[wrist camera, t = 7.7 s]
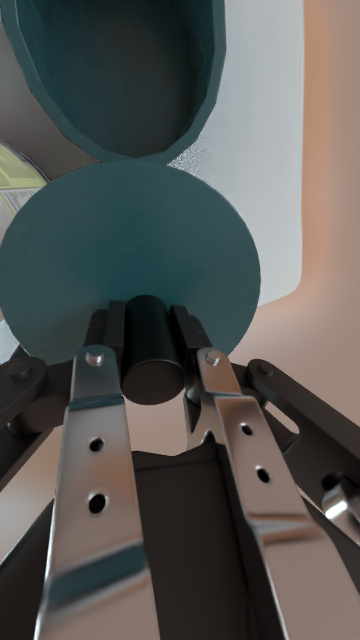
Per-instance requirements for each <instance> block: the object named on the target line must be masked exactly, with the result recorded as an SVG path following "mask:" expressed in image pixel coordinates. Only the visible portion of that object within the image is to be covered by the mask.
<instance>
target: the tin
mask: <svg viewBox="0 0 360 640" xmlns="http://www.w3.org/2000/svg"><path fill="white" fill-rule="evenodd" d="M0 8H1V15H2V22H3V26H4V30H5V32H6V34H7V37H8V39H9V42H10V44H11V46H12V49H13V51H14V53H15V56H16V58H17V61H18V63H19V65H20V68H21V70H22V73H23V75H24V77H25V80H26V82H27V84H28V87H29V89H30V91H31V93H32V94H33V96H34V97H35V98H36V99H37V101H38V102H39V103H40V105H41V106H42V107H43V109H44V110H45V111H46V113H47V114H48V115H49V117H50V118H51V119H52V121H53V122H54V123H55V125H56V126H57V127H58V128H59V130H60V131H61V132H62V134H63V135H64V136H65V137H66V138H67V139H68V140H70V141H71V142H73V143H74V144H75V145H77V146H78V147H80V148H81V149H82V150H84V151H85V152H87V153H88V154H89V155H91V156H92V157H94V158H95V159H96V160H98V161H99V162H108V161H115V160H142V161H147V162H153V163H159V164H164V165H167V164H169V163H170V162H171V161H173V160H174V159H175V158H176V157H177V156H179V155H180V154H181V153H182V152H183V151H185V150H186V149H187V148H188V147H189V146H191V145H192V144H193V143H194V142H195V141H196V140H197V138H198V136H199V134H200V132H201V130H202V128H203V127H204V125H205V123H206V121H207V119H208V117H209V115H210V114H211V112H212V110H213V108H214V106H215V104H216V100H217V95H218V90H219V85H220V80H221V75H222V71H223V66H224V61H225V56H226V26H225V3H224V0H0Z"/></svg>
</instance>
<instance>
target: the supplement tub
mask: <svg viewBox="0 0 360 640" xmlns="http://www.w3.org/2000/svg"><path fill="white" fill-rule="evenodd" d="M49 182H50V181H49V179H48V178H47V177H46V176H45V174H44V173H43V172H42V171H41V170H40V169H39V168H38V166H37V165H36V164H35V163H34V162H33V161H31V160H30V159H29V158H28V157H27V156H26V155H24V154H23V153H22V152H20V151H19V150H17V149H16V148H14V147H13V146H11V145H10V144H8V143H7V142H5V141H3V140H1V139H0V246H1V243H2V240H3V238H4V235H5V232H6V230H7V228H8V226H9V225H10V223H11V222H12V220H13V218H14V217H15V215H16V213H17V212H18V211H19V210H20V208H21V207H22V206H23V205H24V204H25V203H26V202H27V201H28V200H29V198H30V197H31V196H32V195H34V194H35V193H36V192H37V191H39V190H40V189H41V188H43V187H44V186H45V185H46V184H48V183H49ZM3 319H4V316H3V313H2V311H1V308H0V322H1V321H2V320H3Z"/></svg>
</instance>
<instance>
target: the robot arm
mask: <svg viewBox="0 0 360 640" xmlns="http://www.w3.org/2000/svg"><path fill="white" fill-rule="evenodd" d="M124 316H125V301H116V300H110V302H109V309H108V310H105V309H97V310H96V311H95V312H94V313H93V314H92V316H91V319H90V323H89V328H88V330H87V334H86V338H85V342H84V345H83V348H81V349H80V350H79V351H77V353H76V354H75V356H74V358H73V359H71V360H69V361H67V362H63V363H59V364H55V365H50V366H47V365H46V363H45V362H44V361H43V360H42V359H40V358H37V357H20V358H15V359H12V360H9V361H7V362H5V363H3V364H2V365H0V492H1V491H2V490H3V489H4V487H5V486H6V485H7V484H8V483H9V481H10V480H11V479H12V478H13V477H14V476H15V475H16V473H17V472H18V471H19V470H20V469H21V467H22V466H23V465H24V464H25V462H26V461H27V460H28V459H29V458H30V457H31V456H32V454H33V453H34V452H35V451H36V450H37V449H38V447H39V446H40V445H41V444H42V443H43V442H44V440H45V439H46V438H47V437H48V436H49V434H50V433H51V432H52V431H53V429H54V427H57V426H60V425H63V432H62V440H61V448H60V457H59V465H58V474H57V482H56V491H55V497H54V498H53V499H52V501H51V502H50V503H49V504H48V505H47V506H46V508H45V509H44V510H43V511H42V513H41V514H40V515H39V516H38V517H37V519H36V520H35V521H34V522H33V524H32V525H31V526H30V527H29V528H28V530H27V531H26V532H25V533H24V534H23V536H22V537H21V538H20V539H19V541H18V542H17V543H16V544H15V546H14V547H13V548H12V549H11V550H10V552H9V553H8V554H7V555H6V556H5V558H4V559H3V560H2V561H1V563H0V640H360V427H359V426H358V425H356V424H355V423H353V422H352V421H351V420H349V419H348V418H346V417H345V416H344V415H342V414H341V413H339V412H338V411H337V410H335V409H334V408H332V407H331V406H330V405H328V404H327V403H326V402H324V401H323V400H321V399H320V398H318V397H317V396H316V395H314V394H313V393H311V392H310V391H309V390H307V389H306V388H305V387H303V386H302V385H300V384H299V383H298V382H296V381H295V380H293V379H292V378H291V377H289V376H288V375H287V374H285V373H284V372H282V371H281V370H279V369H278V368H277V367H275V366H274V365H273V364H271V363H269V362H267V361H265V360H261V359H253V360H251V361H250V362H249V363H248V366H247V367H246V366H242V365H238V364H234V363H231V362H230V361H229V359H228V357H227V356H226V354H225V353H223V352H222V351H220V350H218V349H216V348H214V347H213V345H212V343H211V341H210V340H209V338H208V336H207V334H206V333H205V330H204V328H203V326H202V324H201V322H200V320H198V319H197V318H196V317H195V316H194V315H189V313H188V311H187V309H186V307H185V306H180V305H171V306H170V309H169V318H170V321H171V324H172V328H173V331H174V334H175V337H176V341H177V344H178V347H179V351H180V354H181V357H182V361H183V364H184V367H185V370H186V374H187V381H186V385H185V387H184V388H185V394H184V397H183V402H184V410H185V419H186V428H187V437H188V444H187V451H186V452H183V453H181V454H179V455H176V456H167V455H161V454H154V453H148V452H142V451H131V446H130V439H129V431H128V424H127V418H126V417H127V416H126V409H125V402H124V398H123V396H121V393H120V388H121V387H120V379H121V365H122V362H123V350H124ZM269 401H270V402H271V403H272V404H273V405H275V406H276V407H277V408H278V409H279V410H281V411H282V412H283V413H284V414H285V415H286V416H288V417H289V418H290V419H291V420H292V421H294V422H295V423H296V425H297V426H298V428H299V432H300V433H299V434H296V433H293V432H291V431H290V430H288V429H287V428H286V427H285V426H284V425H283V424H282V423H281V422H279V421H278V420H277V419H276V418H275V417H274V416H273V415H272V414H270V413H269V412H268V411H267V410H266V409H265V406H266V405H267V403H268V402H269ZM295 483H296V484H297V485H298V487H299V488H300V489H302V491H303V492H304V493H305V494H306V495H307V496H308V497H309V498H310V499H311V500H312V501H313V502H314V503H315V504H316V505H317V506H318V507H319V508H320V509H321V510H322V511H323V512H324V514H325V515H323V514H322V513H321V512H320V511H319V510H318V509H316V508H315V507H314V506H313V505H312V504H311V503H310V502H308V501H307V500H306V499H305V498H304V497H303V496H302V495H300V493H299V491H298V489H297V486H296V484H295Z"/></svg>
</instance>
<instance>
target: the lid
mask: <svg viewBox="0 0 360 640" xmlns="http://www.w3.org/2000/svg"><path fill="white" fill-rule="evenodd" d="M260 284H261V277H260V264H259V259H258V253H257V250H256V247H255V244H254V241H253V238H252V236H251V234H250V232H249V230H248V228H247V226H246V224H245V222H244V221H243V219H242V218H241V216H240V215H239V214H238V212H237V211H236V210H235V208H234V207H233V206H232V205H231V204H230V203H229V202H228V201H227V200H226V199H225V198H224V197H223V196H222V195H221V194H220V193H219V192H217V191H216V190H215V189H213V188H212V187H211V186H209V185H208V184H207V183H205V182H204V181H202V180H200V179H198V178H196V177H194V176H193V175H191V174H189V173H187V172H185V171H182V170H179V169H176V168H173V167H170V166H167V165H164V164H159V163H153V162H147V161H142V160H115V161H108V162H101V163H94V164H91V165H88V166H85V167H81V168H78V169H75V170H72V171H70V172H68V173H66V174H64V175H62V176H60V177H58V178H56V179H54V180H52V181H51V182H49V183H48V184H46V185H45V186H44V187H43V188H41V189H40V190H39V191H37V192H36V193H35V194H34V195H32V196H31V197H30V198H29V200H28V201H27V202H26V203H25V204H24V205H23V206H22V207H21V208H20V210H19V211H18V212H17V213H16V215H15V217H14V218H13V220H12V222H11V223H10V225H9V226H8V228H7V230H6V232H5V235H4V238H3V240H2V243H1V246H0V308H1V311H2V313H3V316H4V319H5V321H6V323H7V325H8V327H9V329H10V331H11V332H12V334H13V336H14V337H15V339H16V340H17V341H18V343H19V344H20V345H21V347H22V348H23V349H24V350H25V351H26V352H27V353H28V354H29V355H30V356H31V357H37V358H40V359H42V360H43V361H44V362H45V363H46V365H47V366H50V365H55V364H59V363H63V362H67V361H69V360H71V359H73V358H74V356H75V354H76V353H77V351H79V350H80V349H81V348H83V345H84V342H85V338H86V334H87V330H88V328H89V323H90V319H91V316H92V314H93V313H94V312H95V311H96V310H97V309H105V310H108V309H109V302H110V300H116V301H125V316H124V350H123V362H122V365H121V379H120V387H121V388H120V393H121V395H124V396H125V397H126V398H127V399H128V400H130V401H132V402H134V403H136V404H140V405H157V404H161V403H164V402H167V401H169V400H171V399H173V398H175V397H176V396H177V395H178V394H180V392H181V391H182V390H183V389H184V387H185V385H186V381H187V374H186V370H185V367H184V364H183V361H182V357H181V354H180V351H179V347H178V344H177V341H176V337H175V334H174V331H173V328H172V324H171V321H170V318H169V309H170V306H171V305H180V306H185V307H186V309H187V311H188V313H189V315H194V316H195V317H196V318H197V319H198V320H200V322H201V324H202V326H203V328H204V330H205V333H206V334H207V336H208V338H209V340H210V341H211V343H212V345H213V347H214V348H216V349H218V350H220V351H222V352H223V353H225V354H226V356H228V355H229V354H230V353H231V352H232V351H233V350H234V348H235V347H236V346H237V345H238V343H239V342H240V341H241V339H242V338H243V336H244V335H245V333H246V331H247V329H248V327H249V325H250V323H251V321H252V319H253V316H254V314H255V311H256V308H257V304H258V299H259V294H260Z"/></svg>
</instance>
